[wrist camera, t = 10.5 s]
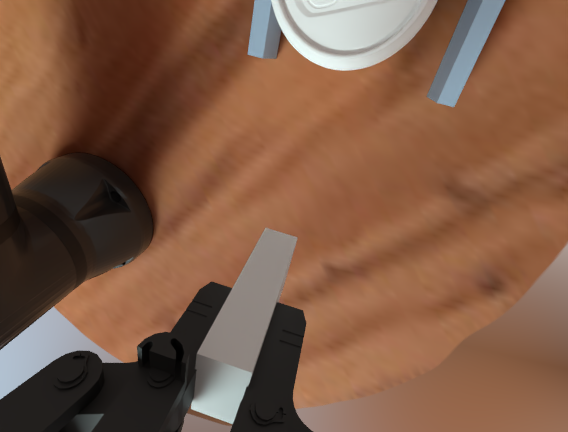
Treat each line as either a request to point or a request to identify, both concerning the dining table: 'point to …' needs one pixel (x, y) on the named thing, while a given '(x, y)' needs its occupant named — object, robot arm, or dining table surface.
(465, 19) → the corral
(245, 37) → the dining table surface
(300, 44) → the beverage can
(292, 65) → the dining table surface
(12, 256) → the robot arm
